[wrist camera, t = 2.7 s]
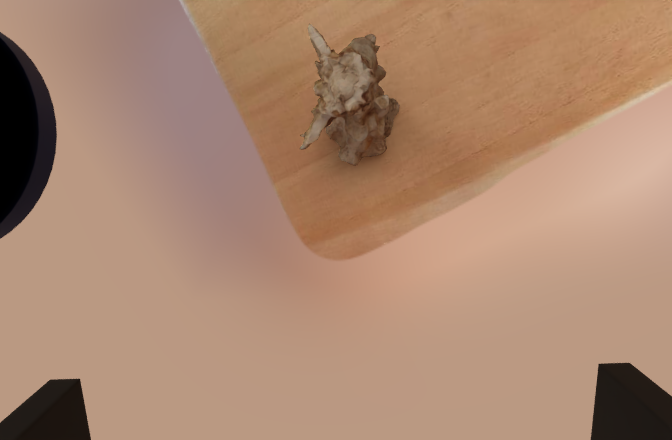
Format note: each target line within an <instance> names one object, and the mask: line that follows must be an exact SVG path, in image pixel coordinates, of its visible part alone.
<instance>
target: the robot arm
mask: <svg viewBox="0 0 672 440" xmlns="http://www.w3.org/2000/svg"><path fill="white" fill-rule="evenodd" d="M591 434H592V435H591V440H672V396H670V395H669V394H668V393H667V392H665V391H664V390H663V389H662V388H660V387H659V386H658V385H657V384H655V383H654V382H653V381H652V380H650V379H649V378H648V377H647V376H645V375H644V374H643V373H642V372H640V371H639V370H638V369H637V368H635V367H634V366H633V365H632V364H630V363H608V364H599V367H598V376H597V386H596V396H595V405H594V415H593V424H592V433H591ZM0 440H91V437H90V433H89V426H88V421H87V415H86V410H85V404H84V399H83V394H82V388H81V382H80V379H58V380H49V381H48V382H47V383H46V384H45V385H43V386H42V387H41V388H40V389H39V390H38V391H37V392H35V393H34V394H33V395H32V396H31V397H30V398H28V399H27V400H26V401H25V402H24V403H23V404H21V405H20V406H19V407H18V408H17V409H16V410H14V411H13V412H12V413H11V414H10V415H9V416H8V417H6V418H5V419H4V420H3V421H2V422H1V423H0Z"/></svg>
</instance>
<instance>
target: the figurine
mask: <svg viewBox="0 0 672 440" xmlns="http://www.w3.org/2000/svg"><path fill="white" fill-rule="evenodd" d="M308 33H309V37H310V40H311V42H312V44H313V46H314V48H315V50H316V52H317V54H318V56H319V60H320V62H321V63H320V62H317V61H315V64H316V66H317V68H318V74H319V76H320V78H321V80H317V81H316V82H315V86H314V87H313V88H314V91H315V94H316V95H317V96H320V97H321V98H319V99H318V105H317V106H316V107H315V108H314V109H313V110H312V111H311V112H312V113H313V114H314V118H313V121H312V122H311V125H310V127H309V129H308V130H307V131H306V132H305V133H304V134H302V135H300V136H302V137H305V139H304V142H303V144H302V146H301V147H300V149H302V150H303V149H306V148H307V147H308V146H309V145H310V144H311V143H312V142H314V141H316V140H318V138H319V136H320V133H321V131H322V129H323V128H325V127H326V133H327V134H328V135H329V137H330V139H333V140H334V141H336V143H337V144H338V145H339V146H340V147H341V149H340V150H339V157H340V159H341V161H345V162H347V163H350V164H352V165H357V164H358V163H359V162H360V160H361V158H362V157H366V156H374V155H379V154H381V153H383V152H384V151H385V150H386V149H387V146H386V144H385V140H384V139H385V137H388V136H389V135H390V132H391V130H392V126H393V119H394V117H395V116H396V115H397V114H398V112H399V104H398V102H397V101H396V100H395V99H389V97H388V95H384V91H383V90H382V88H381V87H380V86H378V83H379V81H380V80H382V79H383V78H384V77H385V75H386V71H385V70H384V69H383V68H382V67H381V66H379V65H378V62H377V57H376V53H377V51H378V49H379V47H380V46H375V42H376V37H375V36H374V35H373V34H369V35H367V36H365V37H361V38H355V39H353V40H352V42H351V43H350V44H349V45H348V46H347V47H346V48H344V49H343V51H342V52H340V53H339V54H337V53H335V50H331V49H330V47H329V46H328V45H327V43H326V42H325V40H324V38H323V36H322V35H321V34H320V33H319V32H318V31H317V29H316V28H314V27H313V26H312V25H311V24H309V26H308ZM331 122H332V123H331ZM330 124H331V125H330ZM328 125H330V126H328ZM327 126H328V127H327Z"/></svg>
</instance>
